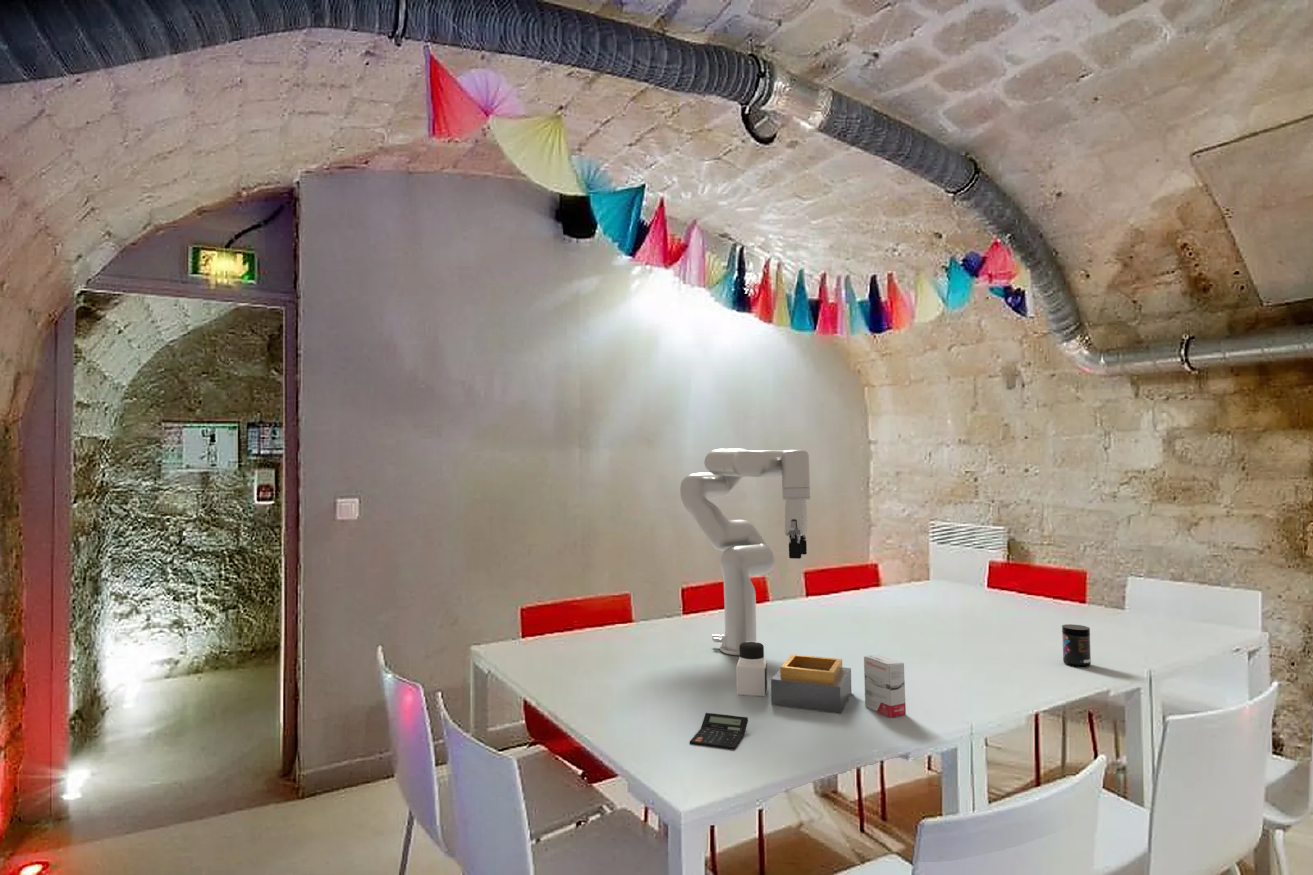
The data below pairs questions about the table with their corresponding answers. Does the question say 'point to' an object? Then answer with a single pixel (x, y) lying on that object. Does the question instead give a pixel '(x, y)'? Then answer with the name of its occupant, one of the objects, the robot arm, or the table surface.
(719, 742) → the calculator
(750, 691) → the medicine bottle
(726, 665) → the table surface
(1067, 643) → the supplement container
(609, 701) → the table surface
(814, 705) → the drawer box
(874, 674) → the ink box
